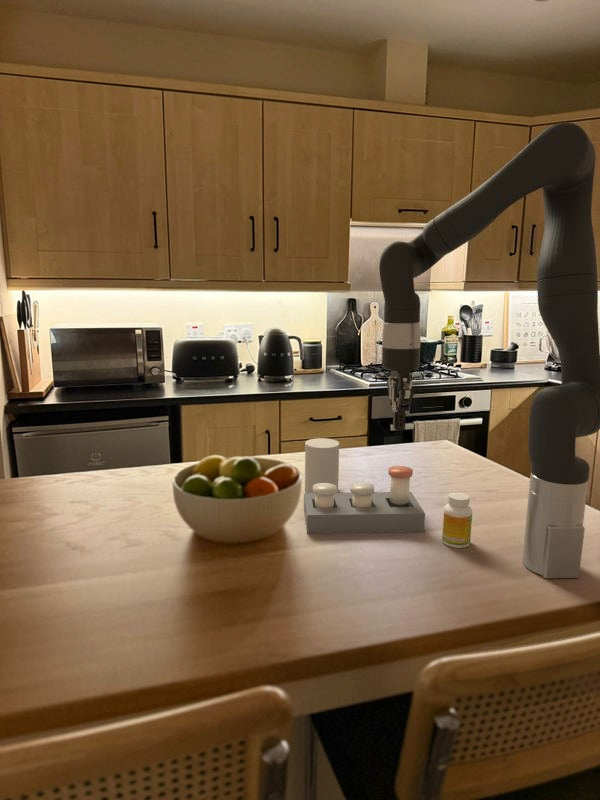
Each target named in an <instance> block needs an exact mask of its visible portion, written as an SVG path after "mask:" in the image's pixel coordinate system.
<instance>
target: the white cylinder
mask: <svg viewBox="0 0 600 800" xmlns="http://www.w3.org/2000/svg"><path fill="white" fill-rule="evenodd" d="M304 445H305V446H304V448H305V449H304V450H305V451H304V453H305V454H304V491H305V492H304V493H313V485H315V484H318V483H330V484H334V485H335V486H336V487H337V490H336V493H339V476H340V475H339V467H340V442H339V440H336V439H333V438H332V439H331V438H327V437H326V438H325V437H324V438H323V437H322V438H321V437H318V438H311V439H307V440H306V441H305V442H304Z"/></svg>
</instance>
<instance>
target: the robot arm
mask: <svg viewBox="0 0 600 800" xmlns="http://www.w3.org/2000/svg"><path fill="white" fill-rule="evenodd" d="M596 158H597V157H596V150H595V146H594V144H593V143H592V141H591V138H590V137H589V135H588V134H587V132H586V131H585V130H584V128H582V127H581V126H580V125H577V124H575V123H573V122H559V123H556V124H553V125H551V126H549V127H547V128H546V129H544V130H543V131H542V132H541V133H539V134H538V135H537V136H536V137H534V138H533V140H531V141H530V142H529V143H528V144H527V145H526V146H525V147H523V149H521V150H520V151H519V152H517V154H516V155H515V156H513V158H511V160H510V161H509V162H507V163H506V164H505V165H504V166H503V167H501V168H500V169H499V170H497V172H495V173H494V174H493V175H492V176H491V177H489V178H488V179H487V180H486V181H484V182H483V183H481V185H479V186H478V187H477V188H476V189H474V190H473V191H471V192H470V193H469V194H467V195H466V196H464V197H463V198H462V199H460V200H458V201H457V202H455V203H454V204H453V205H451V206H450V207H448V208H447V209H446V210H443V211H442V212H441V213H439V214H438V215H436V216H435V217H434V218H432V219H431V220H429V221H428V222H427V223H426V224H425V225H424V227H423V229H422V232H421V233H419V234H418V235H417V236H415V237H414V238H412V239H411V240H410V241H407V242H406V241H399V240H398V241H393V242H390V243H389V244H387V245H386V246H385V247H384V248H383V250H382V252H381V255H380V259H379V263H378V264H379V265H378V266H379V269H378V271H379V277H380V285H381V289H382V294H383V300H384V308H383V329H382V334H381V336H382V338H381V339H382V344H381V346H382V347H381V367H382V368H383V369H384V370H386V371H390V376H389V377H388V380H387V382H386V385H387V391H388V399H389V406H390V407H391V410H392V413H393V414H392V415H393V416H392V429H394V430H395V431H396V432H397V431H405V429H406V418H407V417H406V415H407V413H408V412H410V409H411V406H412V402H413V398H414V395H415V389H414V388H412V387H413V380H412V378H411V371H417V370H419V368H420V365H421V364H420V362H421V337H422V335H421V325H420V324H421V323H420V321H421V319H420V318H421V299H420V296H419V294H418V293H417V292H415V282H414V279H415V278H417V277H420V276H421V275H422V274H425V273H426V272H427V271H428V270H430V269H431V268H432V267H433V266H435V265H436V264H437V263H438V262H439V261H440V260H441V259H443V258H444V257H445V256H446V255H448V254H450V253H452V252H454V251H455V250H457V249H458V248H460V247H461V246H464V244H467V243H468V242H469V241H471V240H472V239H474V238H475V237H477V236H478V235H479V234H481V233H482V232H483V231H484V230H485V229H487V228H488V227H489V226H490V225H491V224H492V223H493V222H494V221H495V220H496V219H498V217H500V216H501V215H502V213H504V212H505V211H506V210H507V209H508V208H511V206H512V205H514V204H515V203H517V202H518V201H520V200H521V199H523V198H524V197H527V196H528V195H530V194H531V193H533V192H536V191H537V190H540V189H541V193H542V199H543V208H544V210H543V211H544V230H543V236H542V242H541V245H540V249H539V256H538V261H537V269H536V271H537V272H536V281H537V283H536V286H537V287H536V290H537V305H538V311H539V314H540V317H541V319H542V322H543V324H544V326H545V328H546V330H547V332H548V333H549V335H550V337H551V339H552V340H553V343H554V345H555V346H556V349H557V353H558V355H559V359H560V360H559V361H560V369H561V373H560V374H561V382H560V383H561V384H560V385H553V386H547V387H544V388H542V389H540V390H539V391H538V392H536V394H535V395H534V397H533V399H532V402H531V404H530V408H529V415H528V416H529V417H528V420H529V421H528V440H527V441H528V443H527V454H528V458H529V461H530V465H531V466H530V467H531V468H530V477H529V488H528V498H527V499H528V500H527V507H526V510H527V511H526V519H525V527H524V528H525V529H524V537H523V538H524V540H523V541H524V542H523V549H522V563H523V565H524V566H525V568H527V569H528V570H530V571H531V572H533V573H535V574H538V575H541V577H543V578H544V579H579V578H580V571H581V565H582V564H581V562H582V554H583V547H584V538H585V530H586V529H585V527H584V520H585V511H586V504H587V503H586V501H587V494H588V486H589V485H588V484H589V477H590V468H591V467H590V464H589V463H588V461H587V460H585V459H584V458H581V457H579V456H577V455H576V442H577V441H576V440H577V438H583V437H589V436H591V435H593V434H595V433H597V432H598V431H599V430H600V333H599V315H598V313H599V312H598V309H599V306H598V305H599V304H598V303H599V302H598V301H599V299H598V298H599V294H598V293H599V292H598V291H599V290H598V289H599V287H598V286H599V285H598V284H599V283H598V265H597V253H596V252H597V251H596V243H595V234H594V228H593V220H592V219H593V218H592V217H593V216H592V206H593V205H592V202H593V191H594V190H593V189H594V188H593V187H594V178H595V168H596Z"/></svg>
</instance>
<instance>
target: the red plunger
mask: <svg viewBox="0 0 600 800" xmlns="http://www.w3.org/2000/svg"><path fill="white" fill-rule="evenodd" d="M413 472H414V471H413V469H412V468H411V467H409V466H404V465H393V466H389V468H388V476H390V483H389V484H390V485H389V488H390V489H389V492H390V502H391V503H394V504H398V505H404V504H407V503H409V492H410V487H411V483H410V482H411V477H413V474H414V473H413Z"/></svg>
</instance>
